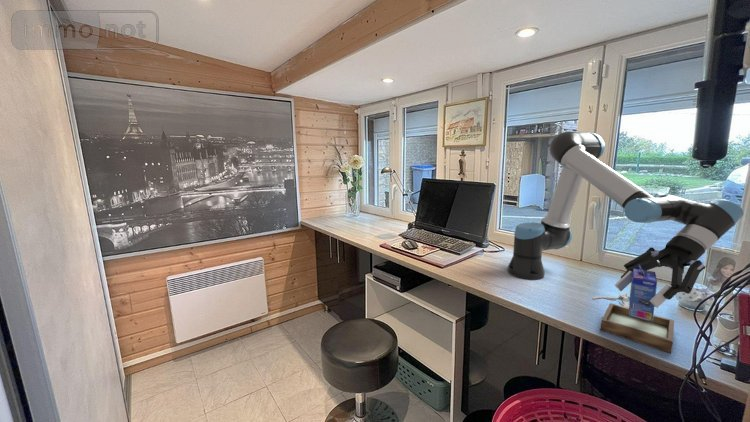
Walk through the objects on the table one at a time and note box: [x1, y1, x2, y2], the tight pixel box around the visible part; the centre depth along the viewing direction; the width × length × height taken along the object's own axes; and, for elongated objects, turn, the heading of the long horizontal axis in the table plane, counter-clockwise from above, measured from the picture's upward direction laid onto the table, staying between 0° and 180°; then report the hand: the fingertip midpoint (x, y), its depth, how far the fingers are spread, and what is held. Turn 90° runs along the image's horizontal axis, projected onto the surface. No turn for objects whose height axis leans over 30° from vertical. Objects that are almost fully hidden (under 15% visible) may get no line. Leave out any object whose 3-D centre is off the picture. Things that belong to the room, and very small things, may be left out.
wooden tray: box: [599, 302, 675, 354], centre depth 90 cm, size 16×16×4 cm
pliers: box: [592, 292, 630, 308], centre depth 109 cm, size 10×2×15 cm
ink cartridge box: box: [628, 265, 658, 321], centre depth 87 cm, size 10×6×14 cm, turn 139°
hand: (634, 295), depth 87 cm, fingers closed on ink cartridge box, 10 cm apart
